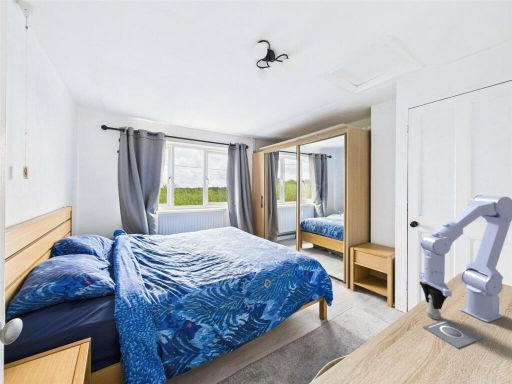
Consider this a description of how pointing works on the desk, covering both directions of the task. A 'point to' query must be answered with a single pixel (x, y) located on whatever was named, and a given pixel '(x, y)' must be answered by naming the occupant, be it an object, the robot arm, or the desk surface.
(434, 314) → the rook chess piece
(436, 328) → the grey base plate
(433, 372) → the desk surface
